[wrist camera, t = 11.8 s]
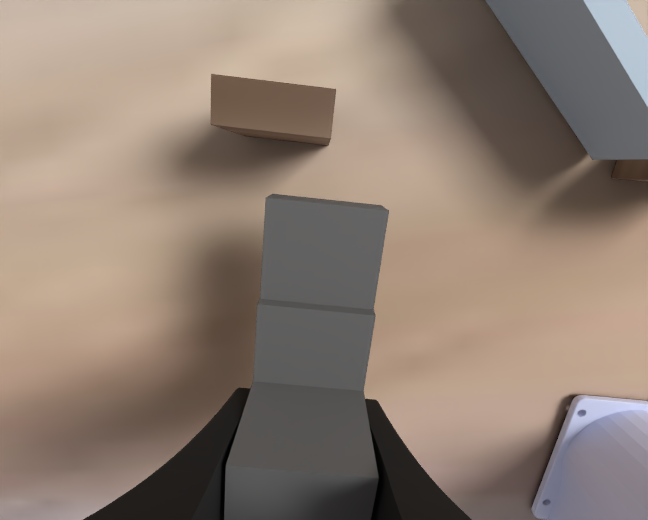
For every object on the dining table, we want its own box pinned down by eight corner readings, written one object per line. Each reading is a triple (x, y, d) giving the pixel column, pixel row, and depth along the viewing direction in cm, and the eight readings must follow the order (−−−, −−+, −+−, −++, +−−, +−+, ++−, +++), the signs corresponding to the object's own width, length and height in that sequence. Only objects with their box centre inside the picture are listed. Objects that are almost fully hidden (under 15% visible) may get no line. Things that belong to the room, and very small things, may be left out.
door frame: (688, 186, 17) (838, 197, 12) (244, 135, 16) (210, 124, 11) (701, 155, 16) (861, 152, 11) (246, 101, 15) (211, 74, 11)
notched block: (346, 437, 15) (358, 583, 10) (257, 429, 15) (222, 573, 10) (381, 205, 12) (424, 235, 7) (272, 193, 12) (233, 216, 7)
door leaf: (592, 159, 16) (678, 158, 12) (452, -48, 14) (504, -132, 10) (630, 129, 15) (732, 117, 12) (493, -91, 13) (564, -195, 9)
